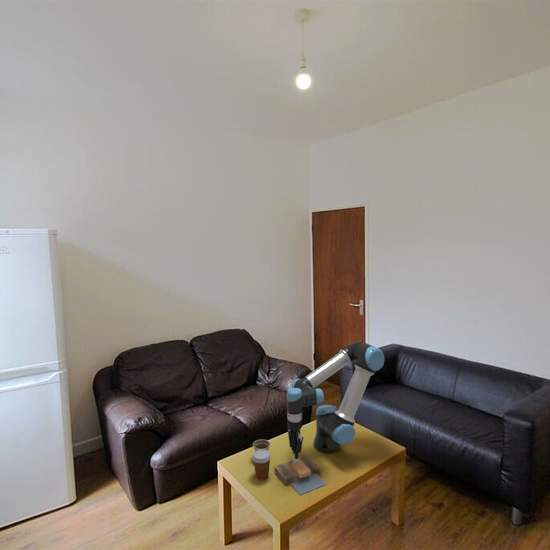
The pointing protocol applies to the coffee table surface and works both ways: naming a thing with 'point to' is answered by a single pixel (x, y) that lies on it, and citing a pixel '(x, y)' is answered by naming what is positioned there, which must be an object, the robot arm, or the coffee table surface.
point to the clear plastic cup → (261, 444)
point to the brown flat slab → (289, 475)
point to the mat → (308, 484)
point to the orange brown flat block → (301, 469)
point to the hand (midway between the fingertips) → (295, 463)
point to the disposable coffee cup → (261, 463)
